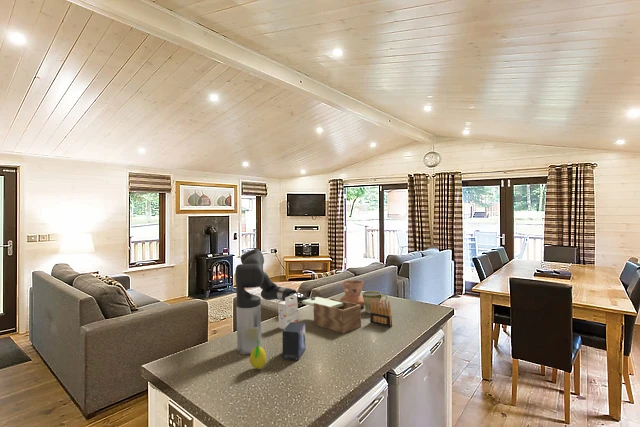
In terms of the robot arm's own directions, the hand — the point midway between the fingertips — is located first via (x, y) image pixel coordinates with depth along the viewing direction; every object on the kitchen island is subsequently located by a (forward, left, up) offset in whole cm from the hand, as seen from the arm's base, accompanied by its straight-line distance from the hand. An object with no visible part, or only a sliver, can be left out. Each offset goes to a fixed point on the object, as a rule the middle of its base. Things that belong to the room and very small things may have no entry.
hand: (308, 300), depth 170 cm
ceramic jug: (+12, -28, -9) cm, 32 cm away
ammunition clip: (-22, -29, -9) cm, 38 cm away
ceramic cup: (-2, -35, -9) cm, 37 cm away
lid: (-9, -5, -1) cm, 10 cm away
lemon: (-51, +30, -9) cm, 60 cm away
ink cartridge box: (-11, +13, -9) cm, 19 cm away
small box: (-43, +16, -9) cm, 47 cm away
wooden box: (-16, -9, -9) cm, 21 cm away
